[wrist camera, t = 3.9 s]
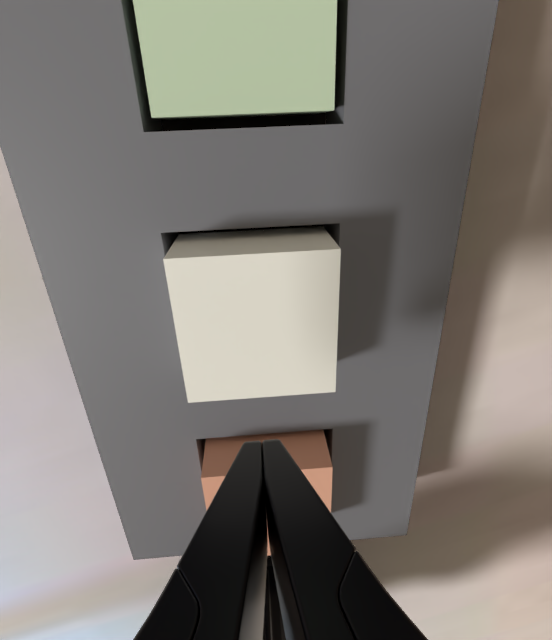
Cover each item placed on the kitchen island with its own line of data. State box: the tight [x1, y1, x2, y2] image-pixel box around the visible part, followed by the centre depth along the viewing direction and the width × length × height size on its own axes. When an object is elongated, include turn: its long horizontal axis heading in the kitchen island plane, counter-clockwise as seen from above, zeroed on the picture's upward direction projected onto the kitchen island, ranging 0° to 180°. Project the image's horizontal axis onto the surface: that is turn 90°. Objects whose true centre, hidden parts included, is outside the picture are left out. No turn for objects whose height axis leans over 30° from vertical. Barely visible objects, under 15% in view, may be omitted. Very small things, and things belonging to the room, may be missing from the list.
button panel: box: [0, 0, 499, 560], centre depth 13 cm, size 23×12×2 cm, turn 2°
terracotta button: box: [201, 429, 333, 556], centre depth 15 cm, size 4×4×2 cm
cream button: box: [163, 227, 341, 403], centre depth 12 cm, size 4×4×2 cm
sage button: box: [133, 0, 337, 120], centre depth 9 cm, size 4×4×2 cm
